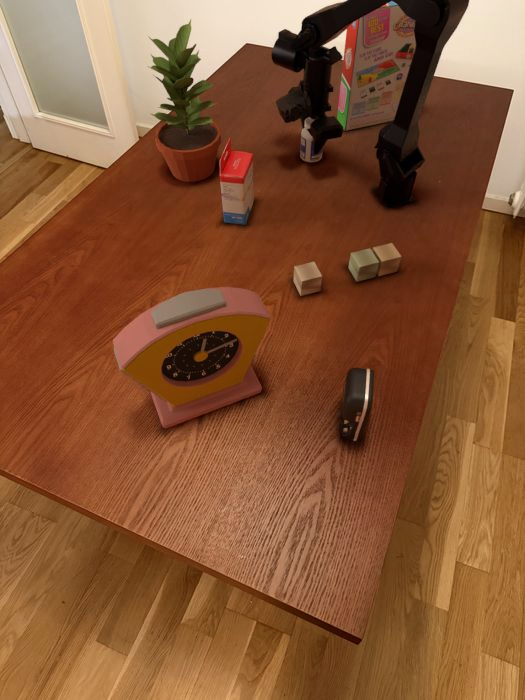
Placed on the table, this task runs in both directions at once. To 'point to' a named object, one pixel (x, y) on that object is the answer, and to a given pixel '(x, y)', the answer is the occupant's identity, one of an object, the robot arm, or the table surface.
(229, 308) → the toy desk clock
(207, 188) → the table surface
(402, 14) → the game box
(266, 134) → the table surface
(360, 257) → the block line
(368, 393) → the battery charger
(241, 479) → the table surface
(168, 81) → the potted plant
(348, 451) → the table surface
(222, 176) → the ink box
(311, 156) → the pill bottle
